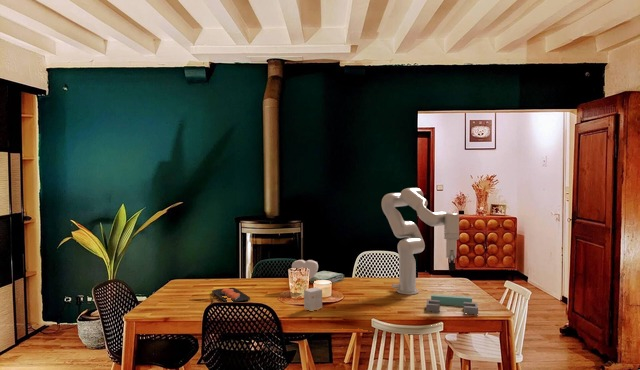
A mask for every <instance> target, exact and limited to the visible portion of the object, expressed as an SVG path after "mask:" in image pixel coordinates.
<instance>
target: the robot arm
mask: <svg viewBox="0 0 640 370" xmlns="http://www.w3.org/2000/svg"><path fill="white" fill-rule="evenodd" d="M407 206H409V207H411V208H412V209H413V210H414V211H416V214H417V216H418V218H419V219H420V220H421V221H422V222H424V223H425V224H426V225H428V226H430V227H437V226H444V233H443V234H444V236H443V237H444V239H445V240H446V241H445V251H446V252H445V257H446V259H448V270H449V271H455V270H456V262H455V261H456V258H457V252H458V251H457V249H458V248H457V242H458V241H457V240H459V239H460V215H459V214H458V213H457V212H448V211H435V212H433V211H431V210H429V209H428V208H427V206H428V200H427V199H426V198H425V197H424V192H423V191H422V189H420V188H418V187H407V188H404V189H402V190H401V191H400V192H390V193H386V194H384V196H383V197H382V199H381V209H382V212H383V214H384V215H385V216H386V219H387V221H388V223H389V226H390V228H391V231H392V232H393V235H394V236H395V237H396V238H397V239H401V240H399V242H398V243H397V252H398V263H399V264H398V266H399V269H398V270H399V271H398V272H399V275H398V276H399V282H398V283H397V284H395V283H391V288H393V289H396V292H397V293H398V294H401V295H409V296H410V295H416V294H418V293H419V289H418V288H417V287H416V286H417V285H416V284H417V281H416V279H417V274H416V273H417V271H416V270H417V269H416V267H417V266H416V259H415V256H414V254H415V255H416V254H420V253H422V252H423V251H424V250H425V247H426V245H425V241H424V239H423V236H422V234H421V231H420V228H419V227H418V225H417V224H416V223H415V222H413V221H411V220H404V218H403V216H402V214H401V212H400V211H399V210H398V209H397V208H399V207H407Z"/></svg>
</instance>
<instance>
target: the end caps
mask: <svg viewBox="0 0 640 370" xmlns="http://www.w3.org/2000/svg"><path fill="white" fill-rule="evenodd" d="M440 305H441V304H440V300H431V299H426V306H425V307H426V308H425V309H426V310H425V311H426V312H427V311H432V312H431V313H440V309H441V307H440ZM463 313H467V314H466V315H469V314H478V315H479V306H478V303H477V302H472V303H470V302H464V306H463Z"/></svg>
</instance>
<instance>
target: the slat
mask: <svg viewBox="0 0 640 370" xmlns="http://www.w3.org/2000/svg"><path fill="white" fill-rule="evenodd" d="M430 300H440V305H442V306H443V305H444V306H445V305H446V306H458V307H459V306H460V307H464V302H470V303H473V297H472V296H463V295H462V296H460V295H459V296H458V295H443V294H430Z"/></svg>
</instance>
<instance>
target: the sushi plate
mask: <svg viewBox="0 0 640 370" xmlns="http://www.w3.org/2000/svg"><path fill="white" fill-rule="evenodd" d="M211 292H212V294H213V295H212V298H196V299H195V298H194V299H190V301H208V300H212V301H211V304H212V303H213V304H214V300H222V301H223V302H225V303H227V300H226V299H227V298H224V297H222V296H227V297H228V298H231V300H232V301H233V303H238V302H243V301H248V300H251V297H250V296H249V295H247V294H245V293H244V292H242V291H241V290H239V289H238V288H236V287H225V288H218V289H213V290H212V291H211ZM215 296H216V298H215Z"/></svg>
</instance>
